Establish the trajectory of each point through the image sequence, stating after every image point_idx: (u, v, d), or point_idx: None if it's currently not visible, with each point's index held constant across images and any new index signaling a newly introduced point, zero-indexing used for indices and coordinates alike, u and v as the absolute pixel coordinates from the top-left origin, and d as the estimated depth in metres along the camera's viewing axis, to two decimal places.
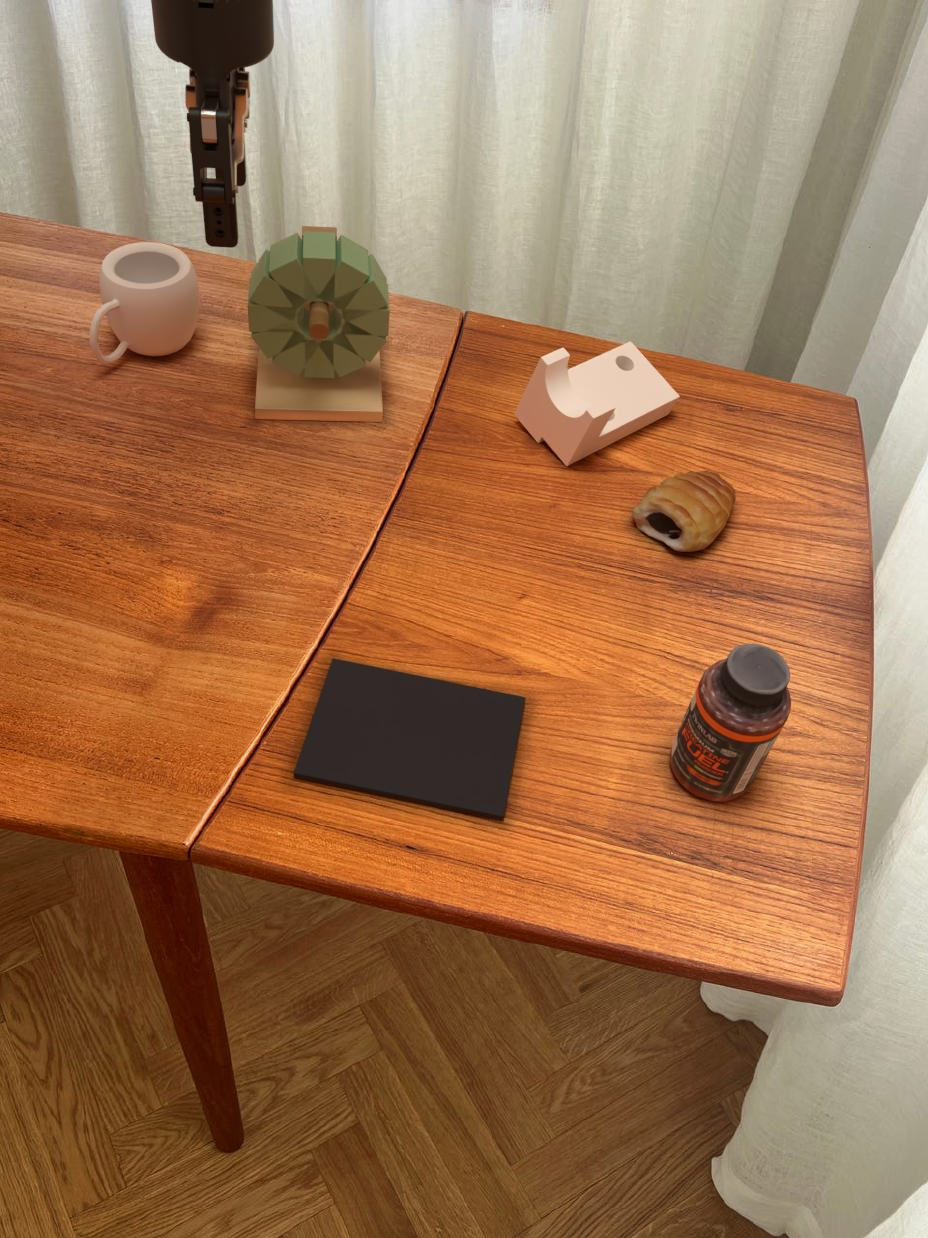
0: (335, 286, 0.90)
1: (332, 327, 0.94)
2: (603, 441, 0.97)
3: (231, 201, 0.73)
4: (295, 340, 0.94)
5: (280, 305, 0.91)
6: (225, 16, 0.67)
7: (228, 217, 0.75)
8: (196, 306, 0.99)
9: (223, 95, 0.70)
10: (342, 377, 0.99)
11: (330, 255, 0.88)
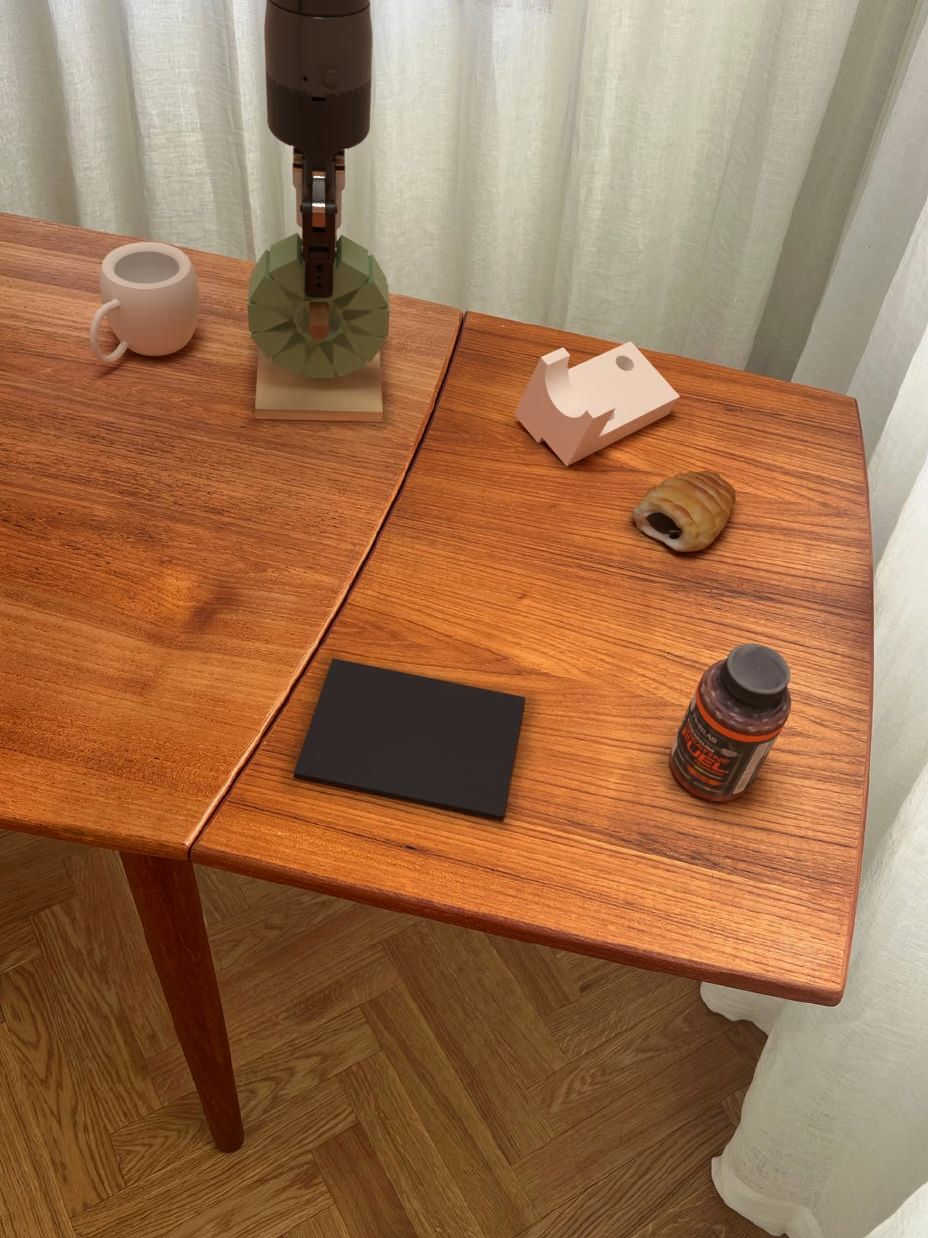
0: (335, 286, 0.90)
1: (332, 327, 0.94)
2: (603, 441, 0.97)
3: None
4: (295, 340, 0.94)
5: (280, 305, 0.91)
6: (334, 108, 0.78)
7: (327, 273, 0.88)
8: (196, 306, 0.99)
9: (328, 173, 0.81)
10: (342, 377, 0.99)
11: None
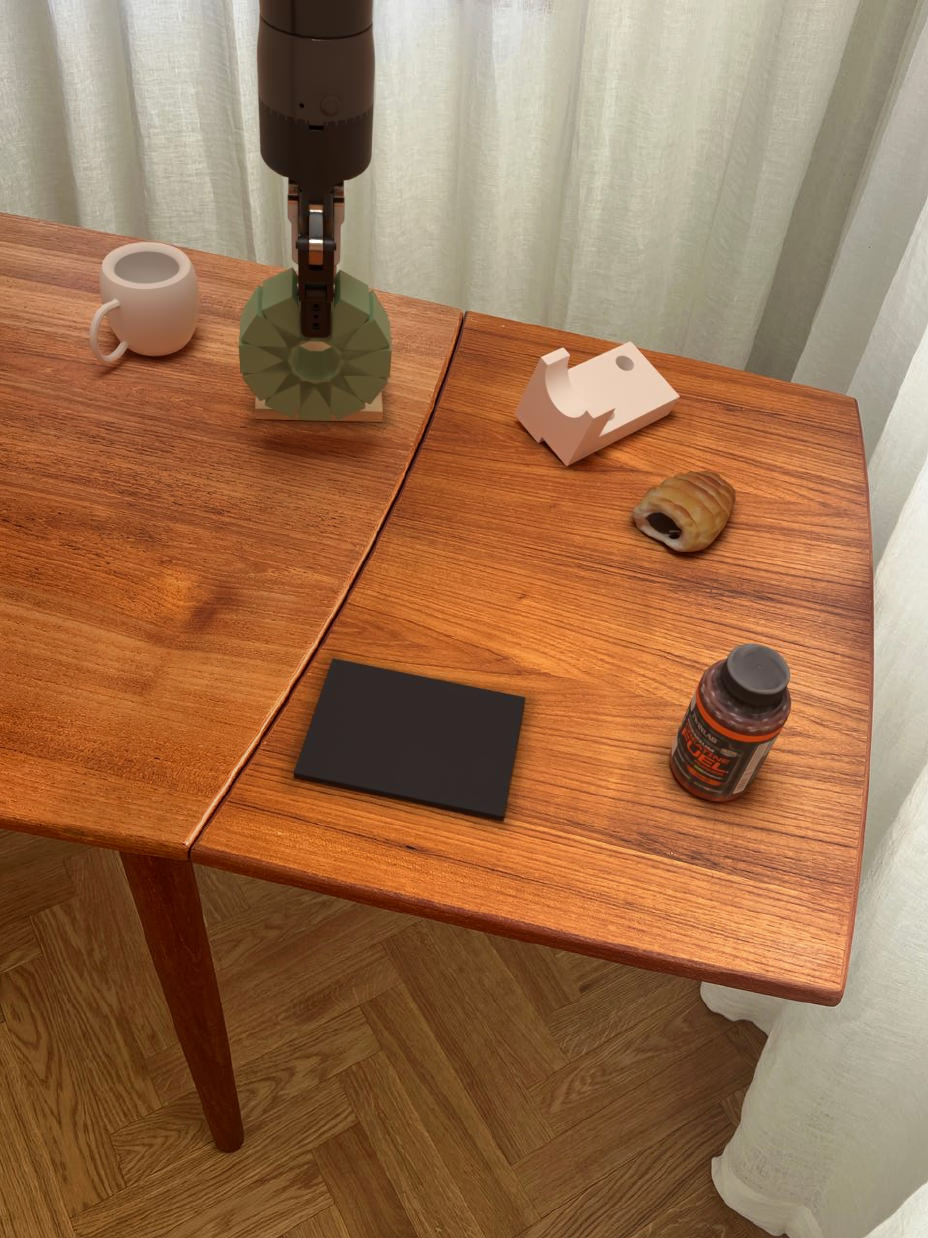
0: (333, 325, 0.84)
1: (329, 367, 0.88)
2: (603, 441, 0.97)
3: None
4: (290, 382, 0.87)
5: (274, 345, 0.84)
6: (333, 137, 0.71)
7: (324, 312, 0.81)
8: (196, 306, 0.99)
9: (326, 207, 0.74)
10: None
11: None
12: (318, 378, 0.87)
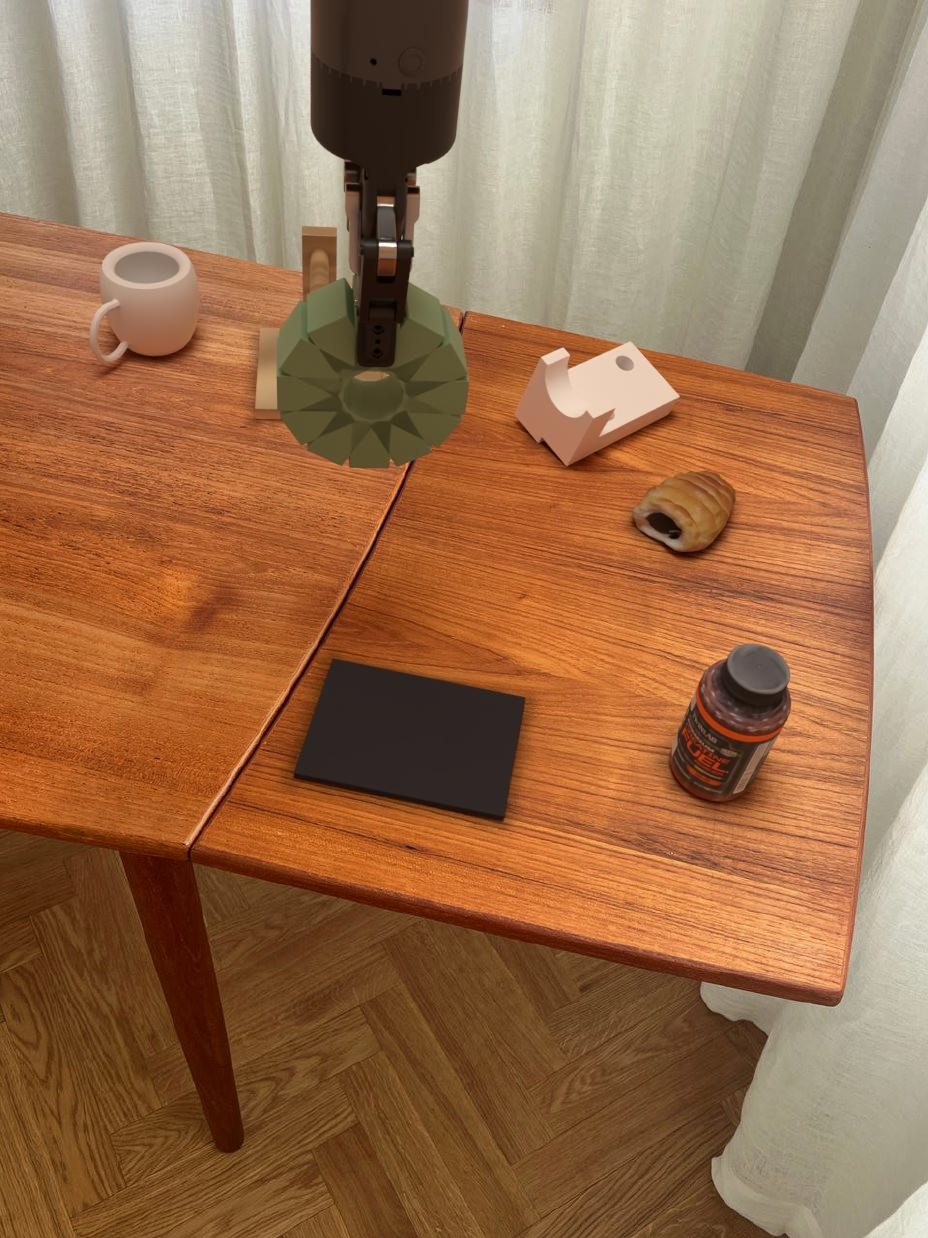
0: (397, 351, 0.66)
1: (389, 403, 0.70)
2: (603, 441, 0.97)
3: (401, 323, 0.60)
4: (339, 421, 0.69)
5: (321, 376, 0.66)
6: (413, 105, 0.53)
7: (389, 335, 0.63)
8: (196, 306, 0.99)
9: (400, 199, 0.56)
10: None
11: None
12: (375, 416, 0.69)
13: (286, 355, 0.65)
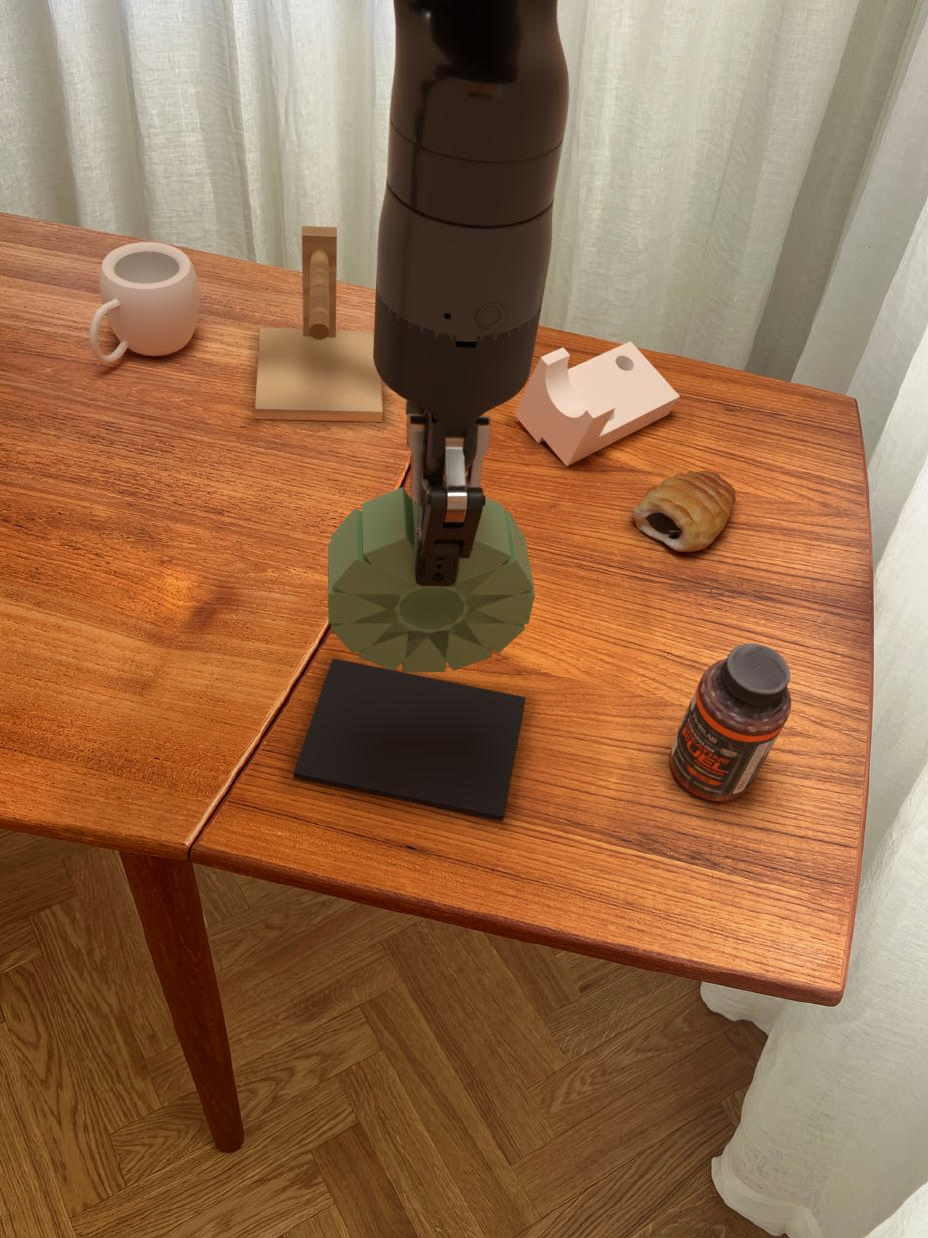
0: (459, 568, 0.61)
1: (447, 610, 0.65)
2: (603, 441, 0.97)
3: None
4: (394, 632, 0.64)
5: (377, 592, 0.62)
6: (489, 354, 0.48)
7: (451, 561, 0.58)
8: (196, 306, 0.99)
9: (470, 442, 0.51)
10: (342, 377, 0.99)
11: None
12: (432, 626, 0.65)
13: (340, 573, 0.61)
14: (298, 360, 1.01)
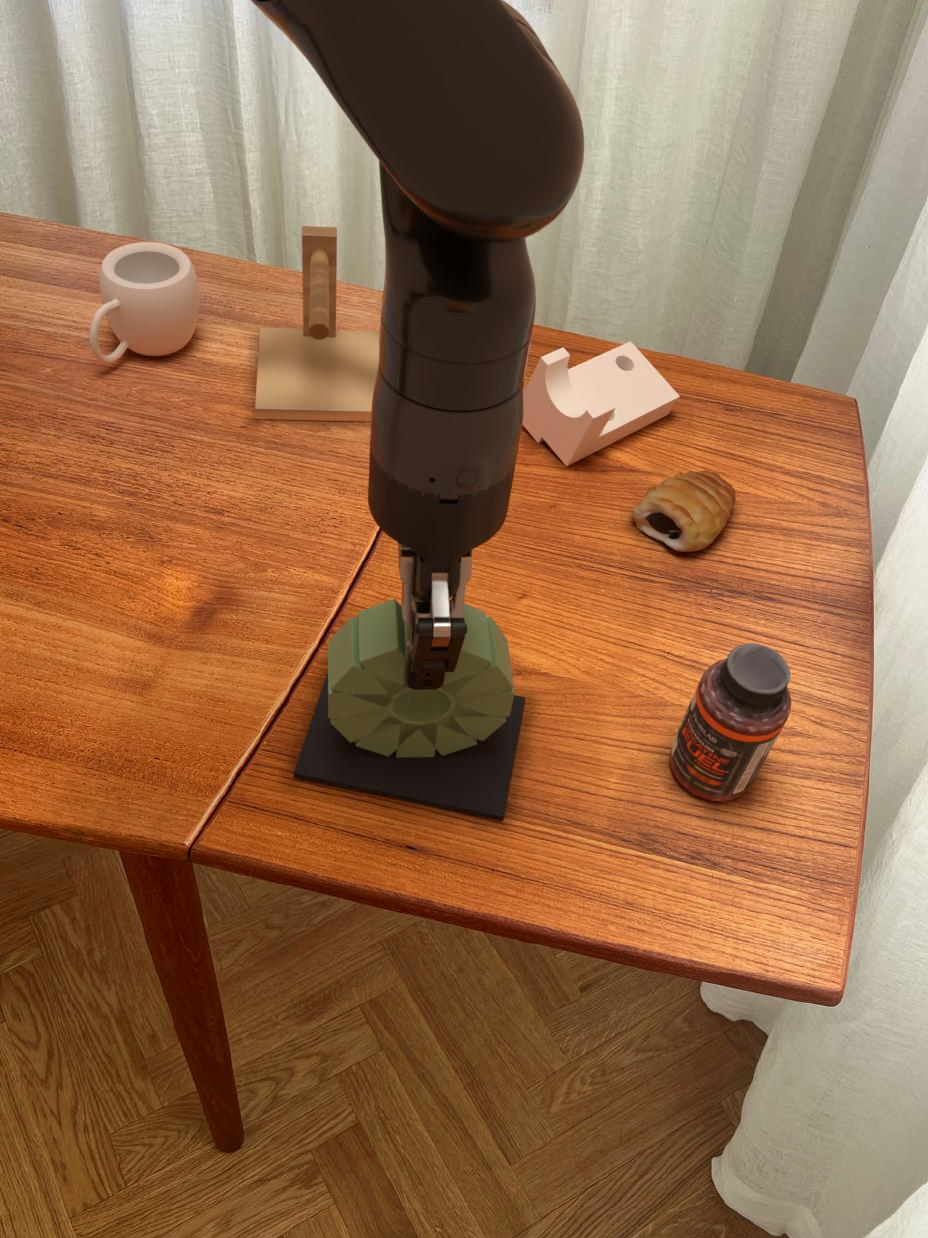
0: (446, 672, 0.68)
1: (435, 703, 0.72)
2: (603, 441, 0.97)
3: None
4: (388, 725, 0.71)
5: (371, 692, 0.68)
6: (469, 508, 0.55)
7: None
8: (196, 306, 0.99)
9: (454, 578, 0.58)
10: (342, 377, 0.99)
11: None
12: (422, 718, 0.71)
13: (338, 677, 0.67)
14: (298, 360, 1.01)
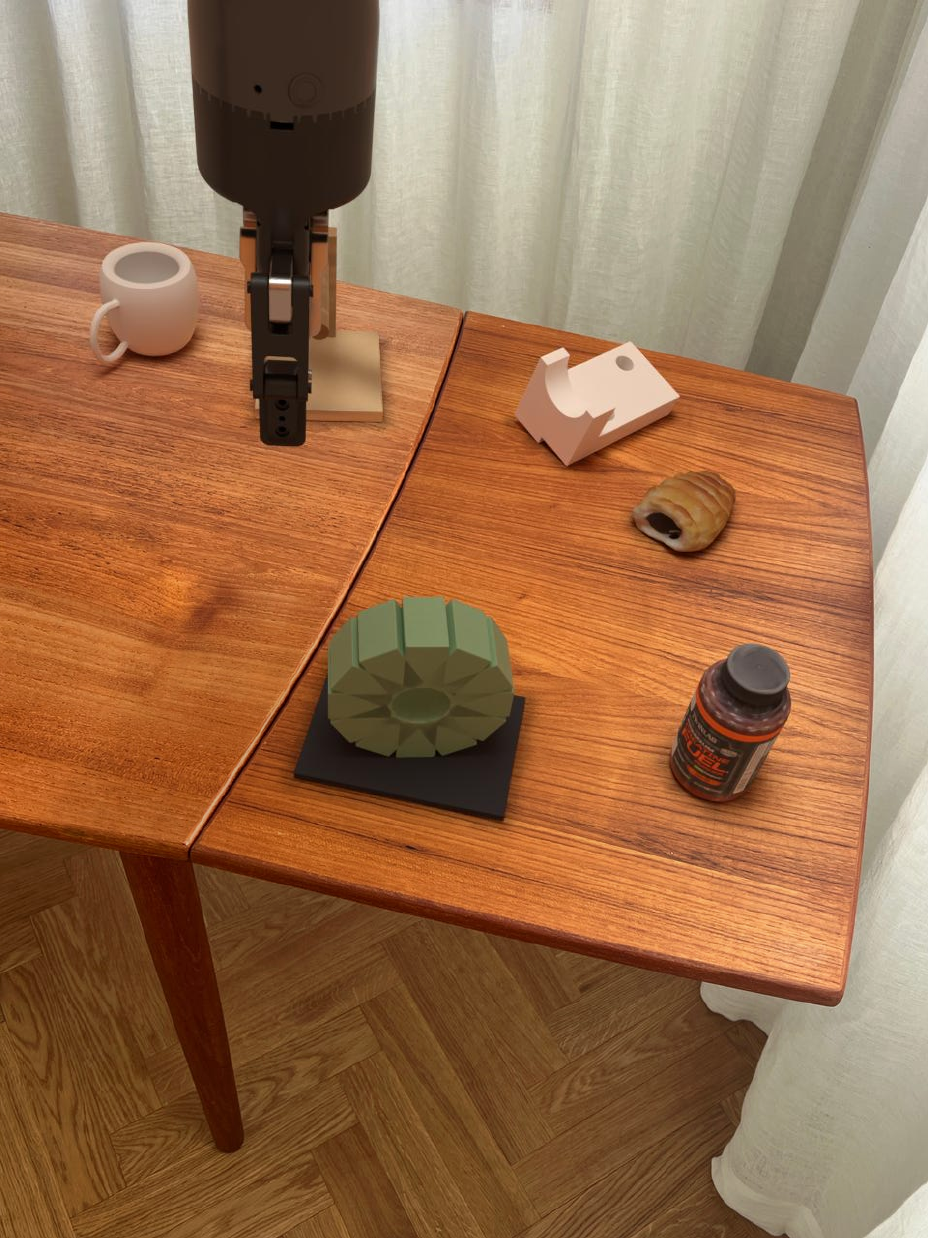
0: (445, 672, 0.68)
1: (435, 703, 0.72)
2: (603, 441, 0.97)
3: (306, 399, 0.49)
4: (388, 725, 0.71)
5: (371, 692, 0.68)
6: (310, 141, 0.44)
7: (296, 412, 0.52)
8: (196, 306, 0.99)
9: (299, 250, 0.47)
10: (342, 377, 0.99)
11: (441, 640, 0.66)
12: (422, 718, 0.71)
13: (338, 677, 0.67)
14: None
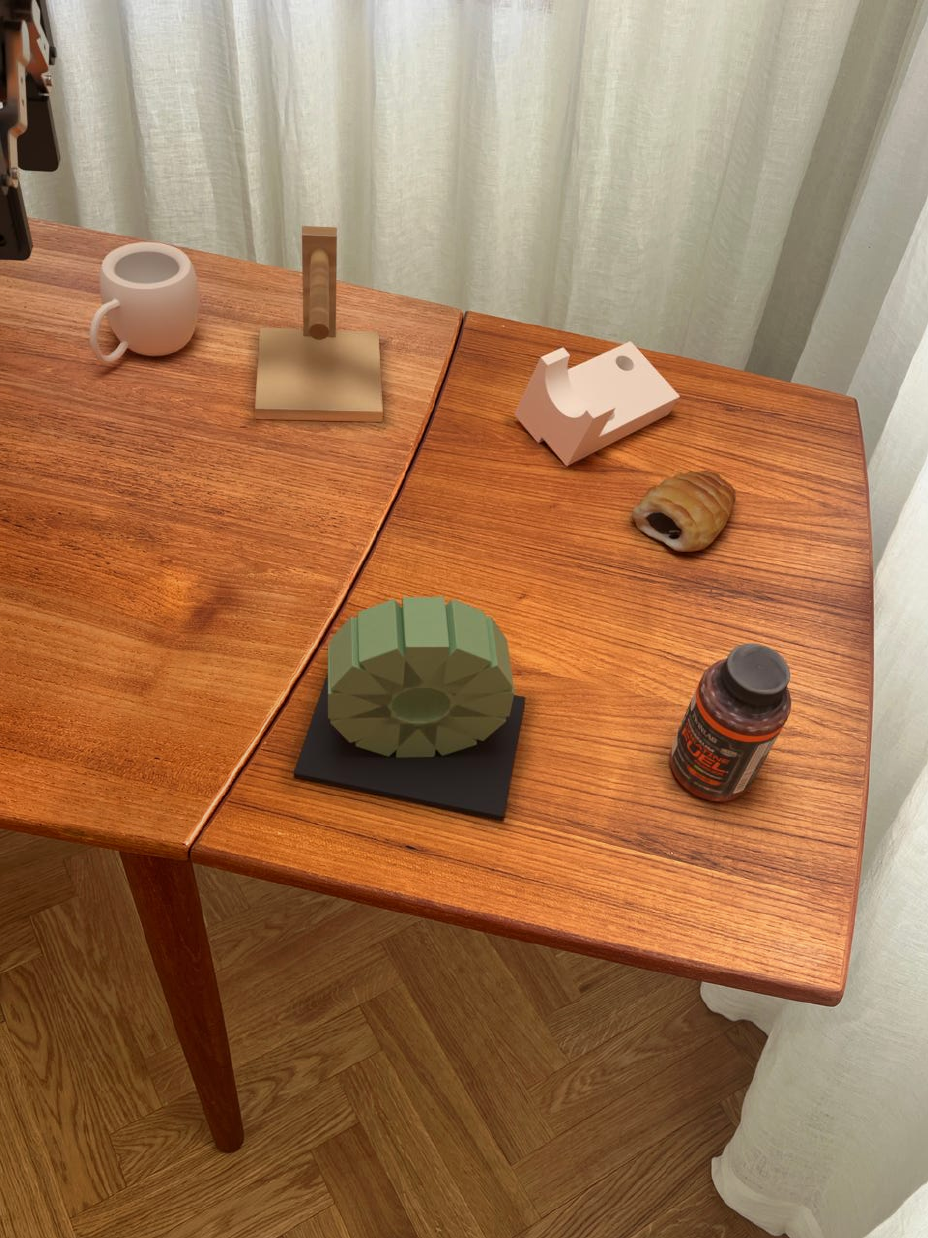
0: (445, 672, 0.68)
1: (435, 703, 0.72)
2: (603, 441, 0.97)
3: (0, 191, 0.48)
4: (388, 725, 0.71)
5: (371, 692, 0.68)
6: None
7: (8, 216, 0.51)
8: (196, 306, 0.99)
9: None
10: (342, 377, 0.99)
11: (441, 640, 0.66)
12: (422, 718, 0.71)
13: (338, 677, 0.67)
14: (298, 360, 1.01)
